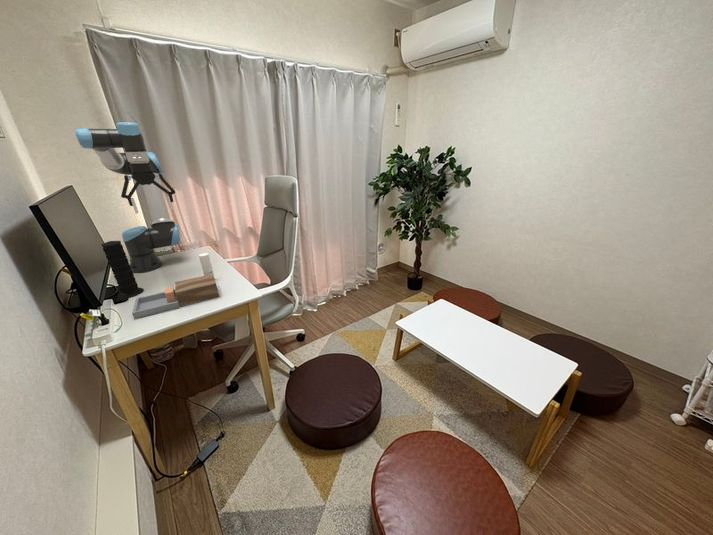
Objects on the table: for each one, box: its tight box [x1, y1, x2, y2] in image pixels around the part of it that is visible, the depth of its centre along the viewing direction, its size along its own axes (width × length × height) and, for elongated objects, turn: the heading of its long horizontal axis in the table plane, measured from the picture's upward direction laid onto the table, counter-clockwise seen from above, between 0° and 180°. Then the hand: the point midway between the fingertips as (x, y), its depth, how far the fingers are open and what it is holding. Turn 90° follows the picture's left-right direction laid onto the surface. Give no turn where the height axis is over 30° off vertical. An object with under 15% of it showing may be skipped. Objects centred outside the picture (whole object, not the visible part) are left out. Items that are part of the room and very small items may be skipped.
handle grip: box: [100, 240, 145, 300], centre depth 127 cm, size 10×26×10 cm
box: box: [131, 291, 181, 320], centre depth 121 cm, size 14×16×3 cm
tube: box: [198, 252, 214, 276], centre depth 139 cm, size 4×4×15 cm
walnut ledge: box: [174, 273, 220, 308], centre depth 127 cm, size 12×16×7 cm
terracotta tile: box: [164, 286, 177, 303], centre depth 122 cm, size 6×6×3 cm
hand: (154, 211), depth 128 cm, fingers open, 13 cm apart
